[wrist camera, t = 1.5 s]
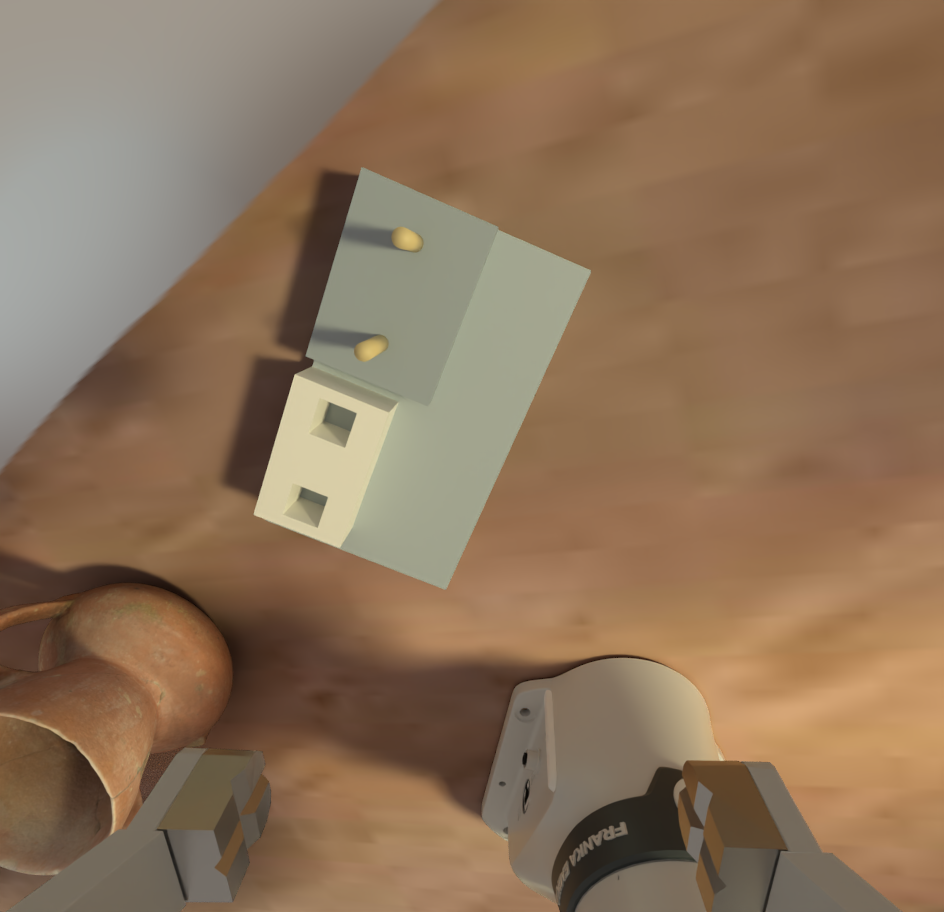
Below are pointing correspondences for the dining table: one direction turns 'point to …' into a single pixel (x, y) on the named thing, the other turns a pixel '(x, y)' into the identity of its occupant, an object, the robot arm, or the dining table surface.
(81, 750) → the ceramic jug
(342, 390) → the two-hole cream block
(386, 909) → the dining table surface
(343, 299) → the grey-green stepped plate
